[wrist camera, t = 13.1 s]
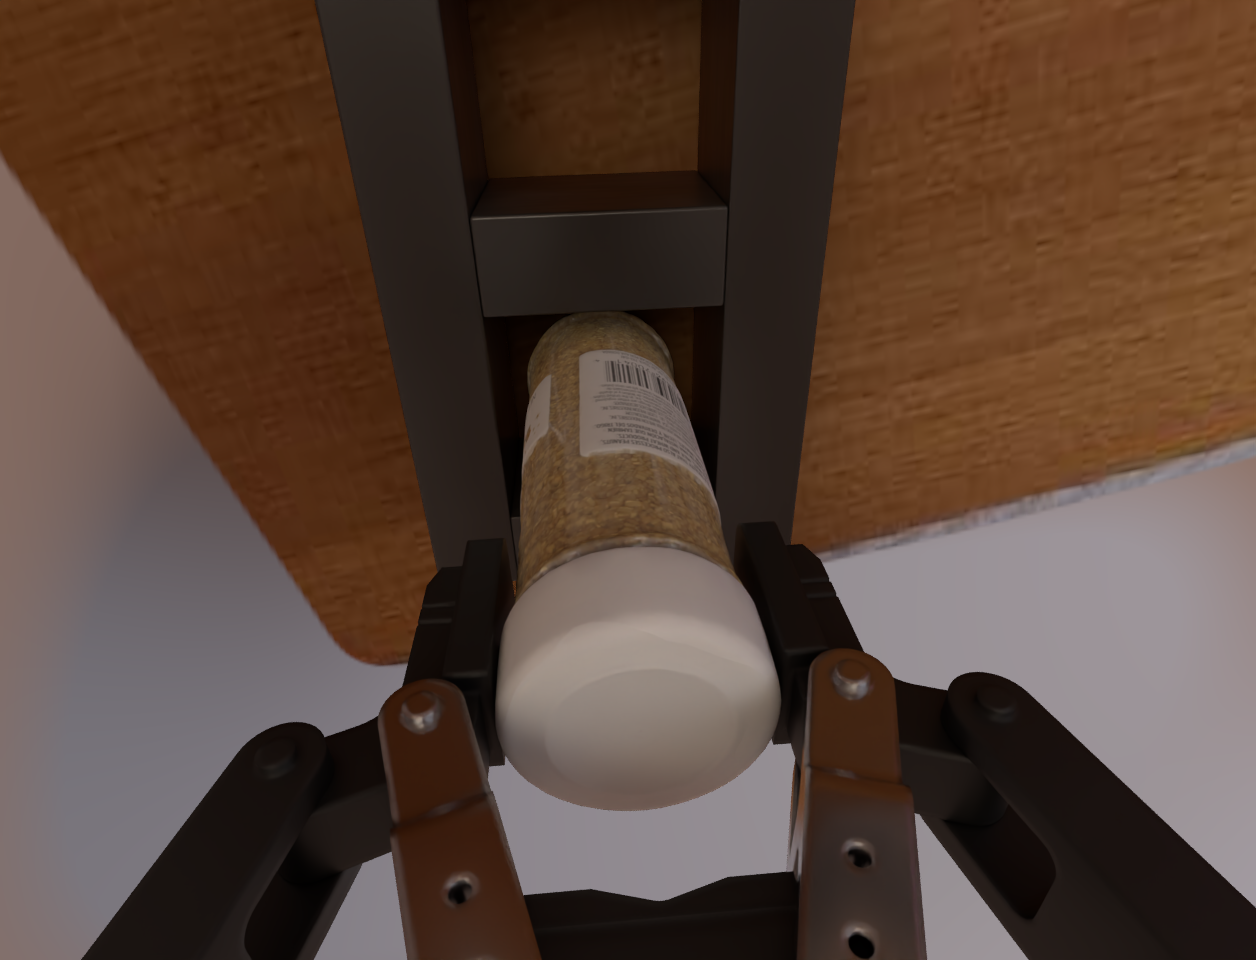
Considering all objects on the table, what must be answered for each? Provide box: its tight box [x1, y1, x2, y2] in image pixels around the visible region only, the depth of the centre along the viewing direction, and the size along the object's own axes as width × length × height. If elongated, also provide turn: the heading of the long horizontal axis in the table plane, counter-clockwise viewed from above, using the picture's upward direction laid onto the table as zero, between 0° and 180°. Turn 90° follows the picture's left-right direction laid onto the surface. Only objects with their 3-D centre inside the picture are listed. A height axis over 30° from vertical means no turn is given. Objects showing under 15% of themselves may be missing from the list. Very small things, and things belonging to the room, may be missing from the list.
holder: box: [315, 0, 855, 581], centre depth 20 cm, size 11×20×5 cm, turn 1°
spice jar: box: [495, 311, 782, 811], centre depth 17 cm, size 5×5×14 cm
